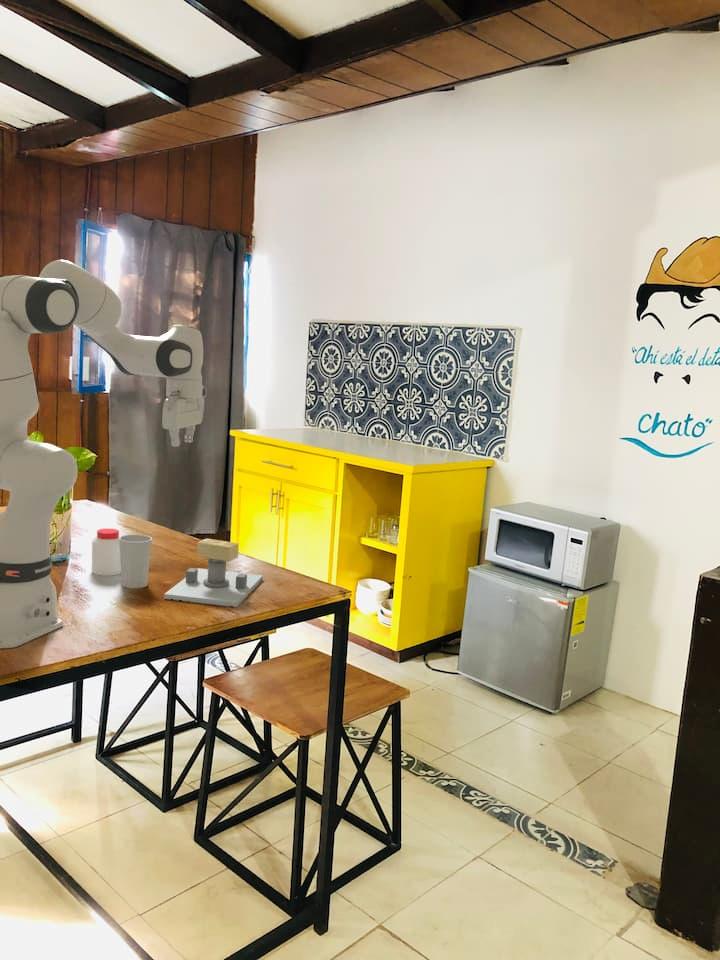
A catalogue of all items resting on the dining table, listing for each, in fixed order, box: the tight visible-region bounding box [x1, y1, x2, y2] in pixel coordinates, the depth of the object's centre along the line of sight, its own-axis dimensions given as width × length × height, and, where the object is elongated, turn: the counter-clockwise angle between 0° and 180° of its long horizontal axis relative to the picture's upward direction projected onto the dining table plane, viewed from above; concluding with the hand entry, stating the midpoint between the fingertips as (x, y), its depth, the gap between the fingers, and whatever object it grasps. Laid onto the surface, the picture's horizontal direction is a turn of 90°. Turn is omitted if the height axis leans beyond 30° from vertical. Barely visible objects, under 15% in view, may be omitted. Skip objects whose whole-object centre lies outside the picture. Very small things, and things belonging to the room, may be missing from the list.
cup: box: [119, 533, 153, 589], centre depth 197 cm, size 8×8×12 cm
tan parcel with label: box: [196, 538, 239, 563], centre depth 198 cm, size 9×5×5 cm, turn 73°
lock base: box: [163, 560, 264, 608], centre depth 199 cm, size 24×18×7 cm
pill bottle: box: [91, 528, 121, 577], centre depth 207 cm, size 8×8×11 cm
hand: (182, 444), depth 203 cm, fingers open, 8 cm apart
